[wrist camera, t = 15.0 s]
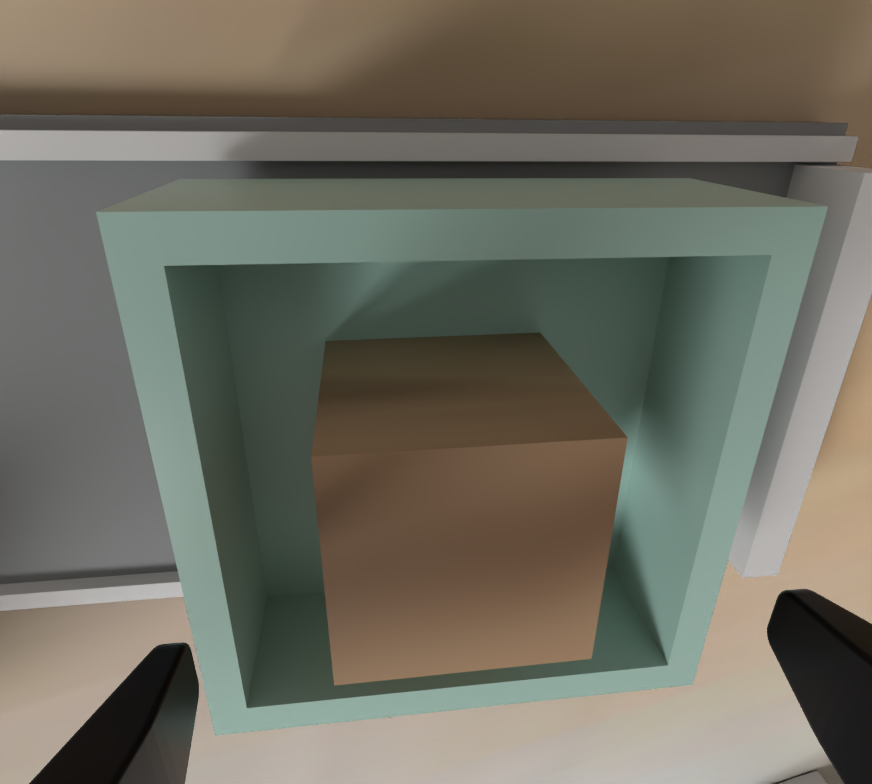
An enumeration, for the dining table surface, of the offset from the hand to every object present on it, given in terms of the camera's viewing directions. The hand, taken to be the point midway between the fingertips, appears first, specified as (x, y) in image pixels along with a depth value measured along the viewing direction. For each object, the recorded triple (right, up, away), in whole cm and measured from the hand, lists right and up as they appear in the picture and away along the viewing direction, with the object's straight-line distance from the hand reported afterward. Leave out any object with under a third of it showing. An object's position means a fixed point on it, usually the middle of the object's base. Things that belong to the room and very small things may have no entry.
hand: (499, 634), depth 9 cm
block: (-1, +3, +6) cm, 7 cm away
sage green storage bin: (-1, +4, +8) cm, 9 cm away
